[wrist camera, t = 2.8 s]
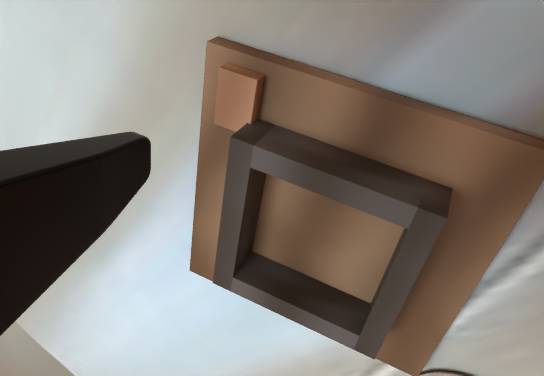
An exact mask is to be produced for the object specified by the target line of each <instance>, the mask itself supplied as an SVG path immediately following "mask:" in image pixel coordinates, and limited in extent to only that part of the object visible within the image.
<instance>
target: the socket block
mask: <svg viewBox="0 0 544 376" xmlns="http://www.w3.org/2000/svg"><path fill="white" fill-rule="evenodd" d="M543 180H544V140H540V139H537V138H534V137H531V136H528V135H525V134H522V133H518V132H515V131H512V130H509V129H506V128H503V127H500V126H496V125H493V124H490V123H487V122H484V121H481V120H478V119H474V118H471V117H468V116H465V115H462V114H459V113H456V112H452V111H449V110H446V109H443V108H440V107H437V106H434V105H430V104H427V103H424V102H421V101H418V100H415V99H412V98H408V97H405V96H402V95H399V94H396V93H393V92H390V91H386V90H383V89H380V88H377V87H374V86H371V85H368V84H364V83H361V82H358V81H355V80H352V79H349V78H346V77H342V76H339V75H336V74H333V73H330V72H327V71H324V70H320V69H317V68H314V67H311V66H308V65H305V64H302V63H298V62H295V61H292V60H289V59H286V58H283V57H280V56H276V55H273V54H270V53H267V52H264V51H261V50H258V49H254V48H251V47H248V46H245V45H242V44H239V43H236V42H232V41H229V40H226V39H223V38H220V37H215V38H213V39H211V40H209V41H207V47H206V60H205V73H204V87H203V100H202V113H201V127H200V140H199V153H198V167H197V180H196V193H195V207H194V220H193V233H192V247H191V260H190V271H192V272H194V273H196V274H198V275H200V276H202V277H205V278H207V279H209V280H211V281H213V283H214V284H216V285H218V286H221V287H223V288H225V289H227V290H229V291H231V292H233V293H235V294H237V295H240V296H242V297H244V298H246V299H248V300H250V301H252V302H254V303H256V304H259V305H261V306H263V307H265V308H267V309H269V310H271V311H273V312H275V313H278V314H280V315H282V316H284V317H286V318H288V319H290V320H292V321H294V322H297V323H299V324H301V325H303V326H305V327H307V328H309V329H311V330H313V331H316V332H318V333H320V334H322V335H324V336H326V337H328V338H330V339H332V340H335V341H337V342H339V343H341V344H343V345H345V346H347V347H349V348H352V349H354V350H356V351H358V352H360V353H362V354H364V355H366V356H368V357H371V358H373V359H375V358H376V359H378V360H380V361H382V362H385V363H387V364H389V365H391V366H393V367H395V368H397V369H399V370H401V371H404V372H406V373H408V374H410V375H412V376H419V374H420V373H421V371H422V370H423V368H424V366H425V365H426V363H427V362H428V360H429V359H430V357H431V355H432V354H433V352H434V351H435V349H436V348H437V346H438V344H439V343H440V341H441V340H442V338H443V337H444V335H445V333H446V332H447V330H448V329H449V327H450V326H451V324H452V323H453V321H454V319H455V318H456V316H457V315H458V313H459V312H460V310H461V308H462V307H463V305H464V304H465V302H466V301H467V299H468V297H469V296H470V294H471V293H472V291H473V290H474V288H475V286H476V285H477V283H478V282H479V280H480V279H481V277H482V275H483V274H484V272H485V271H486V269H487V268H488V266H489V265H490V263H491V261H492V260H493V258H494V257H495V255H496V254H497V252H498V250H499V249H500V247H501V246H502V244H503V243H504V241H505V239H506V238H507V236H508V235H509V233H510V232H511V230H512V228H513V227H514V225H515V224H516V222H517V221H518V219H519V217H520V216H521V214H522V213H523V211H524V210H525V208H526V206H527V205H528V203H529V202H530V200H531V199H532V197H533V196H534V194H535V192H536V191H537V189H538V188H539V186H540V185H541V183H542V181H543Z"/></svg>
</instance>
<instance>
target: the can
mask: <svg viewBox="0 0 544 376" xmlns="http://www.w3.org/2000/svg"><path fill="white" fill-rule="evenodd" d="M419 376H465V375H462V374H459V373H454V372H447V371H433V372H427V373H423V374H421V375H419Z"/></svg>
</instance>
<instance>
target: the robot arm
mask: <svg viewBox="0 0 544 376" xmlns="http://www.w3.org/2000/svg"><path fill="white" fill-rule="evenodd" d="M150 170H151V143H150V140H149V139H148V138H147V137H145V136H143V135H140V134H138V133H135V132H124V133H118V134H111V135H104V136H97V137H91V138H84V139H77V140H70V141H64V142H57V143H50V144H43V145H37V146H30V147H23V148H16V149H10V150H3V151H0V336H1V335H2V334H3V333H4V332H5V331H6V330H7V329H8V328H9V327H10V326H11V324H13V323H14V322H15V321H16V320H17V319H18V318H19V317H20V316H21V315H22V314H23V313H24V312H25V311H26V310H27V309H28V308H29V307H30V306H31V305H32V304H33V303H34V302H35V301H36V300H37V299H38V298H39V297H40V296H41V295H42V294H43V293H44V292H45V291H46V290H47V289H48V288H49V287H50V286H51V285H52V284H53V283H54V282H55V281H56V280H57V279H58V278H59V277H60V276H61V275H62V274H63V273H64V272H65V271H66V270H67V269H68V268H69V267H70V266H71V265H72V264H73V263H74V262H75V261H76V260H77V259H78V258H79V257H80V256H81V255H82V254H83V253H84V252H85V251H86V250H87V249H88V248H89V247H90V246H91V245H92V244H93V243H94V242H95V241H96V240H97V239H98V238H99V237H100V236H101V235H102V234H103V233H104V232H105V231H106V230H107V228H108V227H109V226H110V225H111V224H112V223H113V221H114V220H115V219H116V218H117V217H118V215H119V214H120V213H121V212H122V210H123V209H124V208H125V207H126V205H127V204H128V203H129V202H130V200H131V199H132V198H133V197H134V195H135V194H136V193H137V192H138V190H139V189H140V188H141V187H142V185H143V184H144V183H145V182H146V180H147V179H148V177H149V175H150Z"/></svg>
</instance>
